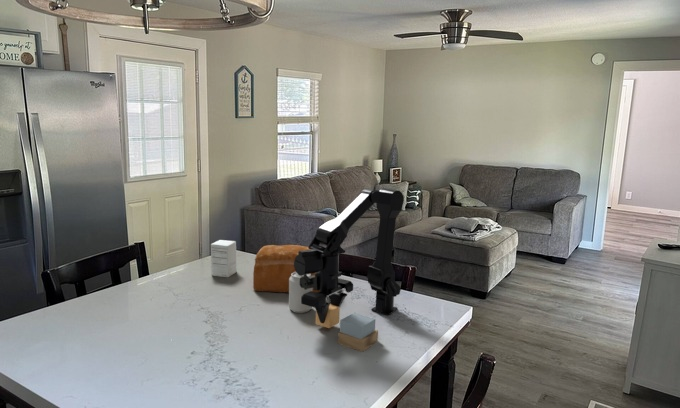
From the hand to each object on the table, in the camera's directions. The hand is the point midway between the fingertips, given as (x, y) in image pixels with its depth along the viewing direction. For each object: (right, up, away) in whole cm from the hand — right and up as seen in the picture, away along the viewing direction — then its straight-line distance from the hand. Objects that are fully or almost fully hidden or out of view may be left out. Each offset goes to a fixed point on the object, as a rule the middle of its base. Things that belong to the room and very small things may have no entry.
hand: (327, 319), depth 147 cm
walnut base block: (+9, -5, -9) cm, 13 cm away
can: (-9, 0, +14) cm, 16 cm away
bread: (-14, +4, +34) cm, 37 cm away
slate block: (+8, -1, -9) cm, 13 cm away
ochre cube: (0, -1, 0) cm, 1 cm away
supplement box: (-41, +7, +47) cm, 63 cm away
